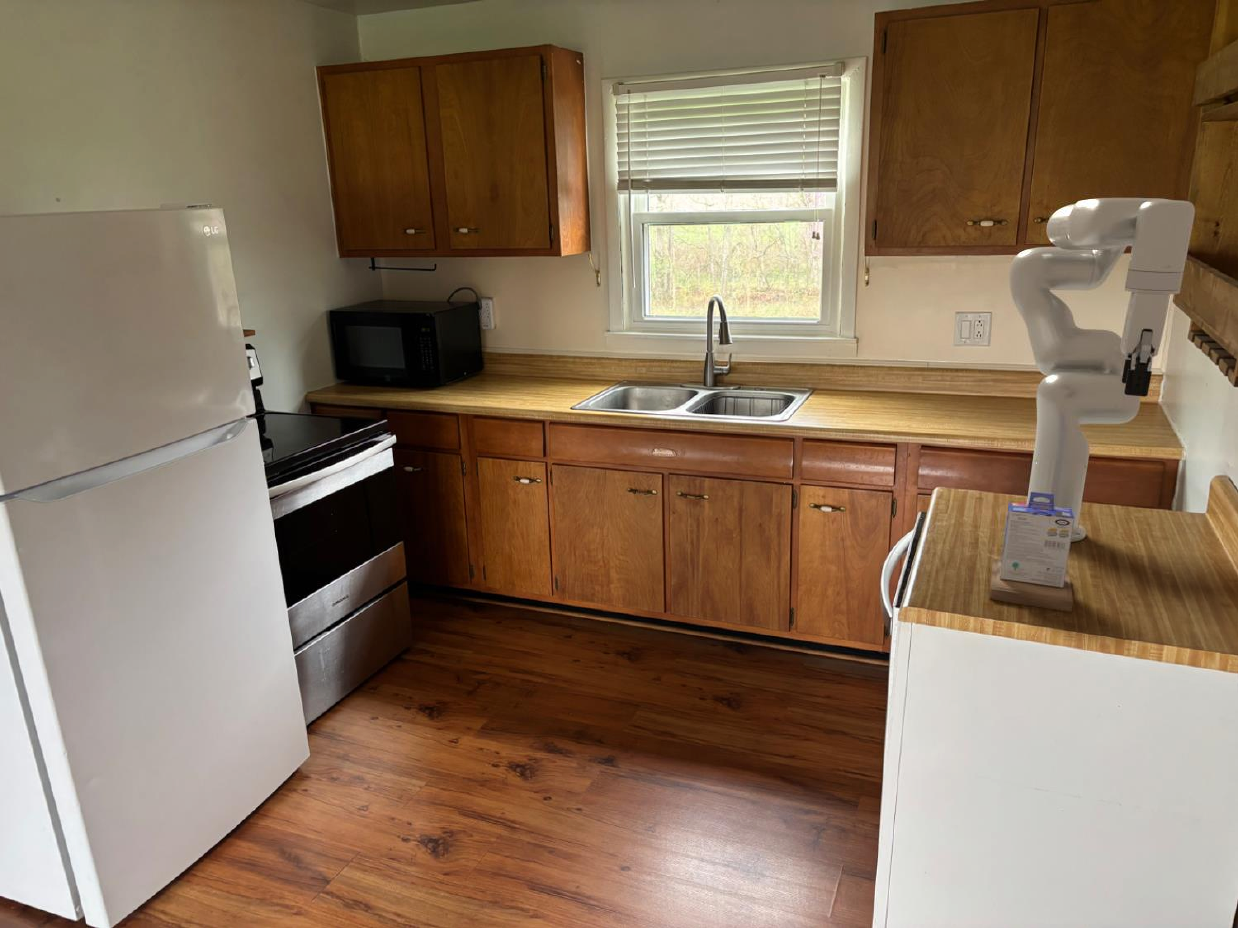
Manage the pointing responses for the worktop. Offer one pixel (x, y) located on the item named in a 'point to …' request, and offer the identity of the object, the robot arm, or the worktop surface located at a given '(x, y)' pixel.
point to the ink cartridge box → (1037, 542)
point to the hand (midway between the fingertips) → (1133, 389)
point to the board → (1030, 591)
